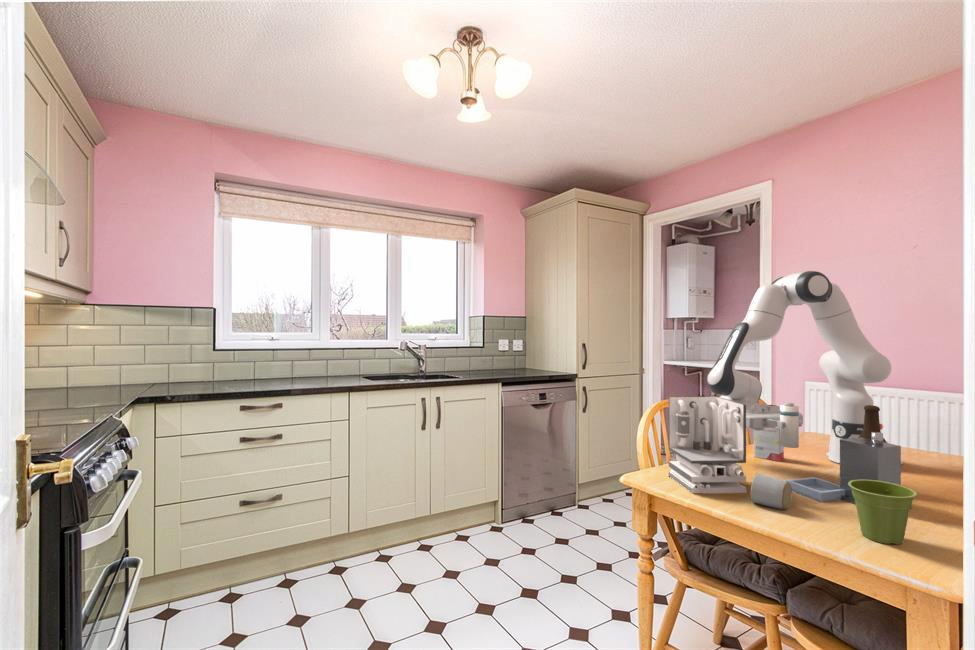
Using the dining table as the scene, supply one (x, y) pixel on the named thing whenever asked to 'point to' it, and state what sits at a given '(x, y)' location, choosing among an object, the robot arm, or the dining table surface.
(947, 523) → the dining table surface
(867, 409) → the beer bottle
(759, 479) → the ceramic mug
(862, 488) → the plant pot
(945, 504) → the dining table surface
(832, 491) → the tray
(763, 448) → the ink box
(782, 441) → the cylinder
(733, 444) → the pipe room model
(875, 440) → the block
